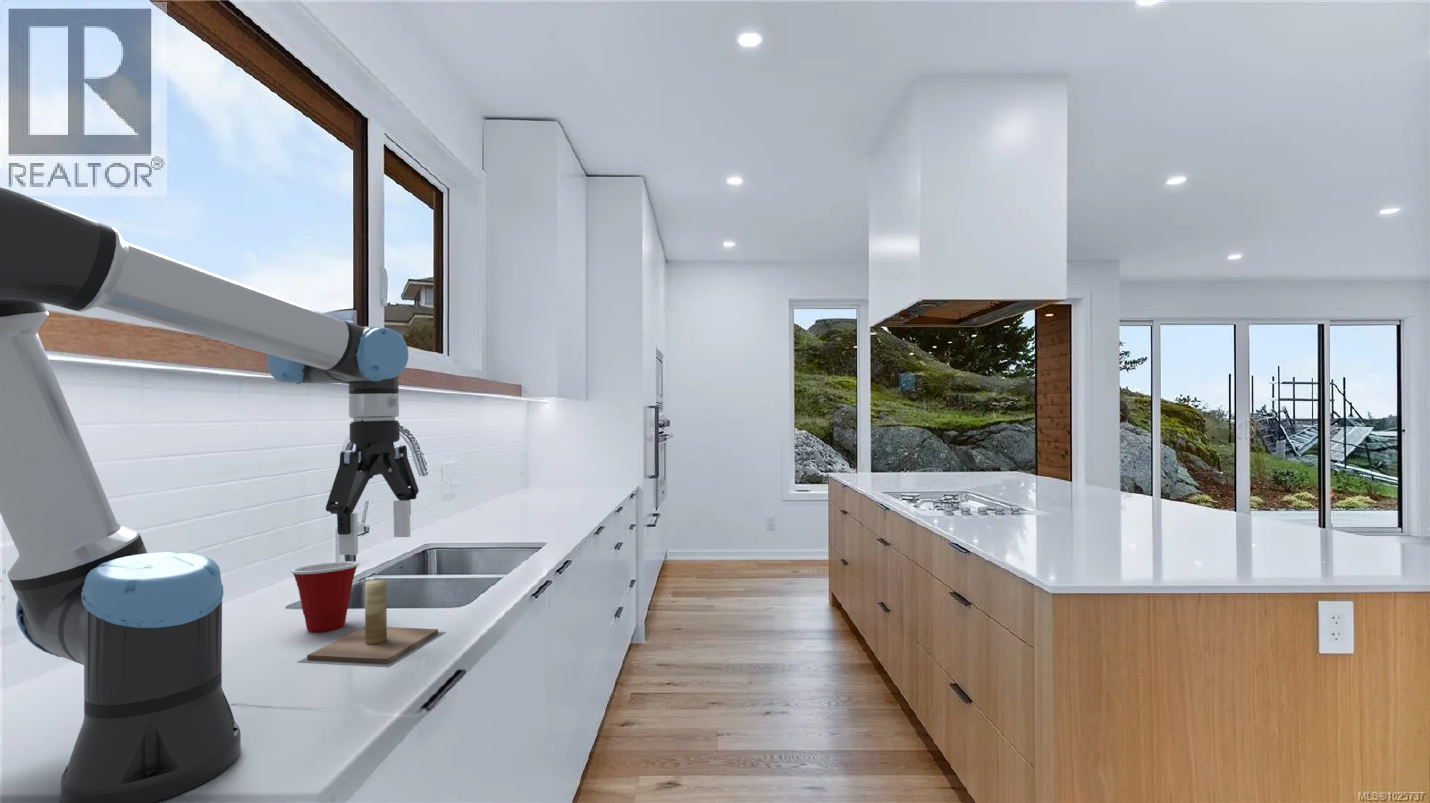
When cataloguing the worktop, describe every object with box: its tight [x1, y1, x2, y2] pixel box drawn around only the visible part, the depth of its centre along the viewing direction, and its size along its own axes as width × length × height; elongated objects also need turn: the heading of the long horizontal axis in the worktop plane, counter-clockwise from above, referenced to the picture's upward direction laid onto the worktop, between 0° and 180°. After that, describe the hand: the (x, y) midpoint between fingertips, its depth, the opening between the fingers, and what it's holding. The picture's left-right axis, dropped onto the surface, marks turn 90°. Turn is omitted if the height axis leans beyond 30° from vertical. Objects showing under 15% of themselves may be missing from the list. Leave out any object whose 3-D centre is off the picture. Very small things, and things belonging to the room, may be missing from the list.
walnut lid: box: [306, 578, 439, 664], centre depth 111 cm, size 14×14×11 cm
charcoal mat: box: [296, 631, 447, 668], centre depth 110 cm, size 16×16×1 cm
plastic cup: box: [290, 560, 360, 634], centre depth 121 cm, size 11×11×12 cm
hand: (377, 545), depth 111 cm, fingers open, 13 cm apart
